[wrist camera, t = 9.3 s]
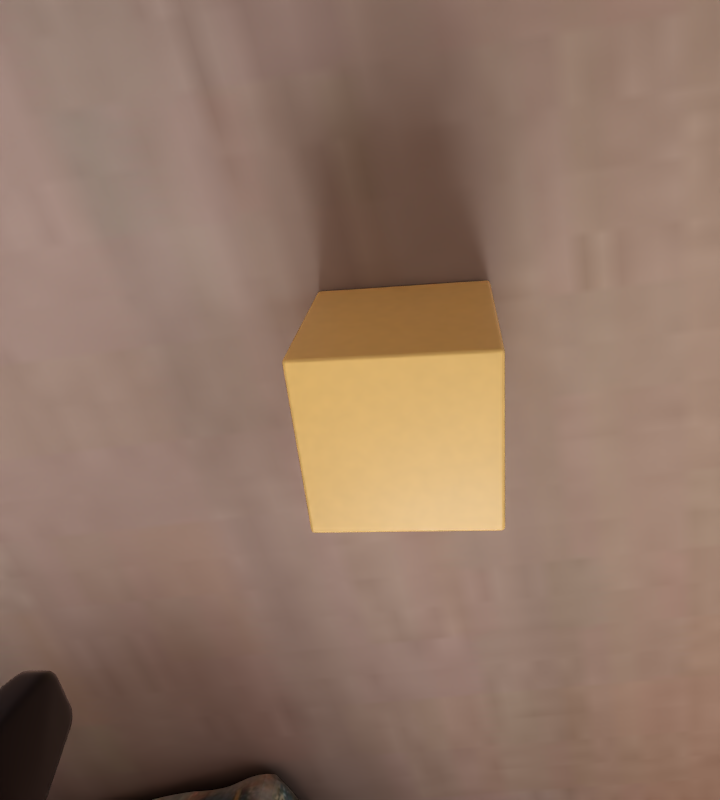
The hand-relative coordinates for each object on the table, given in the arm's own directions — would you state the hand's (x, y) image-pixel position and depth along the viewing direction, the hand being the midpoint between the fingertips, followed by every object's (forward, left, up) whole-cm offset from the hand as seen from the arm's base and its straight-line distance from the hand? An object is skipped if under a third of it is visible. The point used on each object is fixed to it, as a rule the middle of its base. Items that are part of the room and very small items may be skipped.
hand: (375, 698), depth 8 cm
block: (0, 0, -11) cm, 11 cm away
